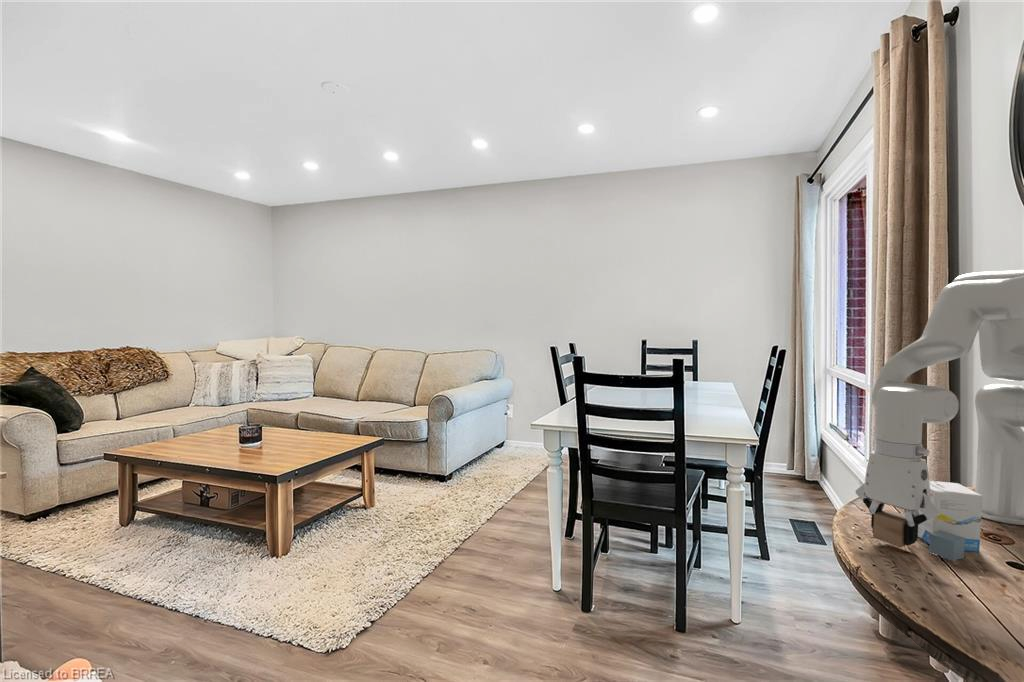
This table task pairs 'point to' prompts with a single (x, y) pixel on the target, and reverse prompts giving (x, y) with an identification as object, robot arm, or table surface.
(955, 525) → the ink box
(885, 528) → the walnut block
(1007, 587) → the table surface
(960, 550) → the slate block
